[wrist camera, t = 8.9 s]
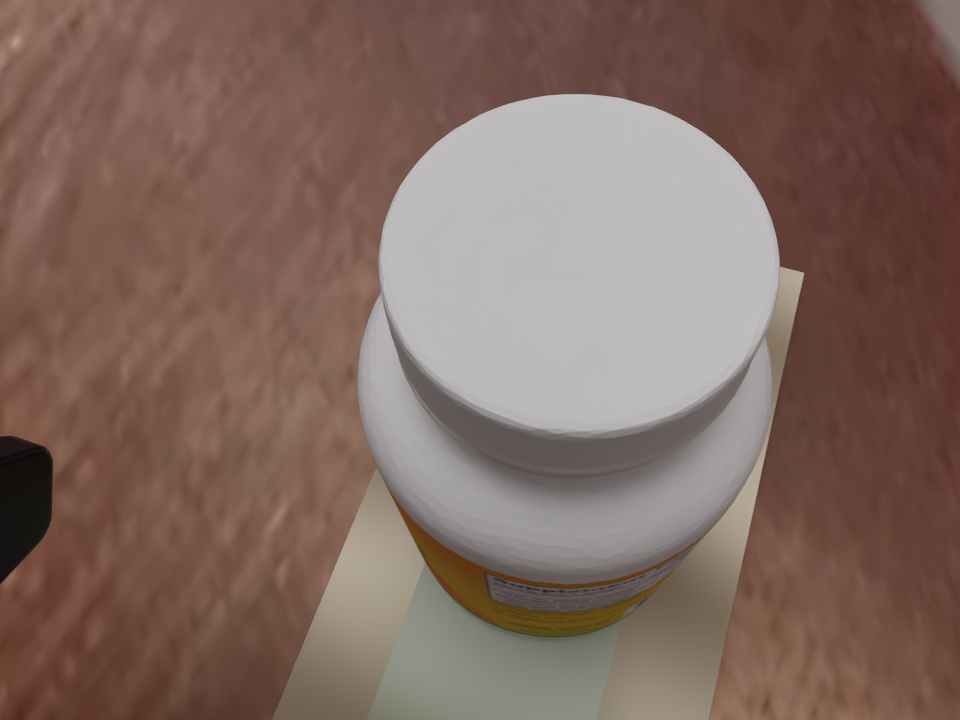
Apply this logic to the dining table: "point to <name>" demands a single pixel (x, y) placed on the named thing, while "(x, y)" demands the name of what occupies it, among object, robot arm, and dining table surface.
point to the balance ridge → (512, 658)
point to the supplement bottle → (568, 356)
